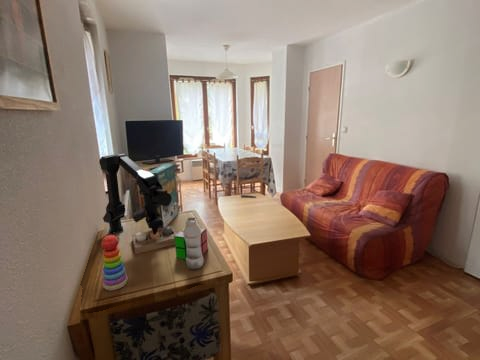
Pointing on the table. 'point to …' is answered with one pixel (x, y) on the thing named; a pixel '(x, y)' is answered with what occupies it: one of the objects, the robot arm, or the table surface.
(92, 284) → the table surface
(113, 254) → the stacking toy
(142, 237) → the cream button
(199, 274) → the table surface
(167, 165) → the cake mix box
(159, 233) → the terracotta button
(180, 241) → the puzzle cube
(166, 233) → the charcoal button
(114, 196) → the robot arm
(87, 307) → the table surface
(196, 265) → the plastic bottle
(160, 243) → the panel
